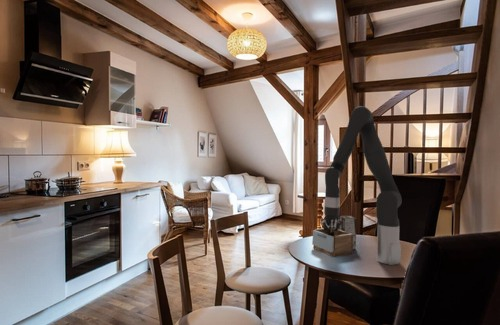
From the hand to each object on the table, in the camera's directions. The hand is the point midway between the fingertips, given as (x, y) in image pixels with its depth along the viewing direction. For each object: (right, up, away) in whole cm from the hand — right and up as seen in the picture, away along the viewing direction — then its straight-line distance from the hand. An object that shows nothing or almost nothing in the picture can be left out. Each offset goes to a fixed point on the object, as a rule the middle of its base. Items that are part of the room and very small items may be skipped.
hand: (330, 239), depth 162 cm
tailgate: (-5, -4, -3) cm, 7 cm away
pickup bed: (+1, -6, 0) cm, 6 cm away
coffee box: (+11, -6, +9) cm, 16 cm away
